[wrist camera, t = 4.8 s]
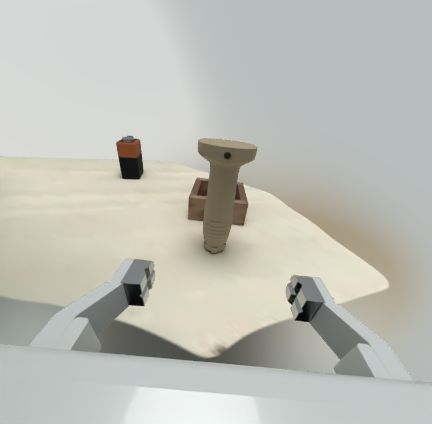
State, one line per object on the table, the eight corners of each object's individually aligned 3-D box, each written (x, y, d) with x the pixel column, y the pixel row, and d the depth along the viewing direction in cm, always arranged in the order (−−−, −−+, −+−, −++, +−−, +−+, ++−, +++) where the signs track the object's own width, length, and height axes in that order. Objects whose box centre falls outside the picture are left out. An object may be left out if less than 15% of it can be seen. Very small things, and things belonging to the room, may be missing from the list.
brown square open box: (188, 219, 32) (188, 197, 30) (196, 195, 41) (196, 177, 39) (243, 225, 32) (248, 204, 30) (239, 200, 41) (242, 182, 39)
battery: (121, 179, 45) (114, 138, 40) (128, 170, 51) (122, 134, 46) (139, 179, 46) (134, 139, 41) (143, 171, 52) (140, 135, 47)
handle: (195, 235, 28) (200, 137, 21) (233, 238, 29) (253, 143, 21) (190, 256, 24) (195, 143, 17) (236, 260, 24) (261, 151, 17)
